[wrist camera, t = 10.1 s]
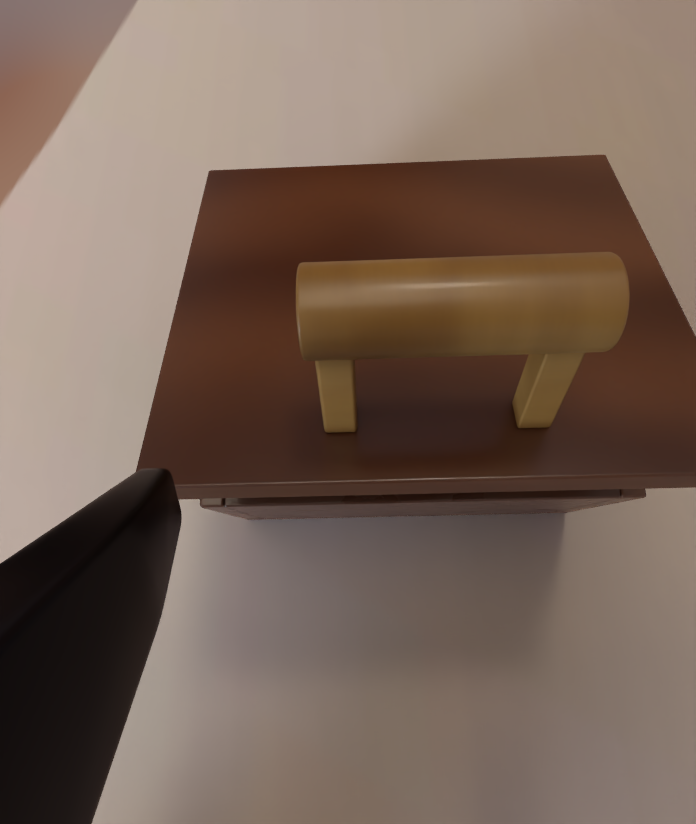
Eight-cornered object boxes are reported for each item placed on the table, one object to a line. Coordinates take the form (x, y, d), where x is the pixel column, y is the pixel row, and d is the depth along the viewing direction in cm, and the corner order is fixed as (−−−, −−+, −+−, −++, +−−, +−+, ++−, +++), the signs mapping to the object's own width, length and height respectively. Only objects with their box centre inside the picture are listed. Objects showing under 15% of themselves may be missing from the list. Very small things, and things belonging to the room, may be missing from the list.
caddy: (566, 512, 21) (647, 497, 15) (246, 519, 22) (198, 507, 15) (538, 268, 24) (598, 170, 18) (252, 278, 24) (213, 185, 18)
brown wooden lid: (748, 487, 11) (939, 328, 7) (141, 501, 11) (26, 356, 8) (599, 171, 18) (661, 0, 14) (212, 187, 18) (169, 23, 14)
